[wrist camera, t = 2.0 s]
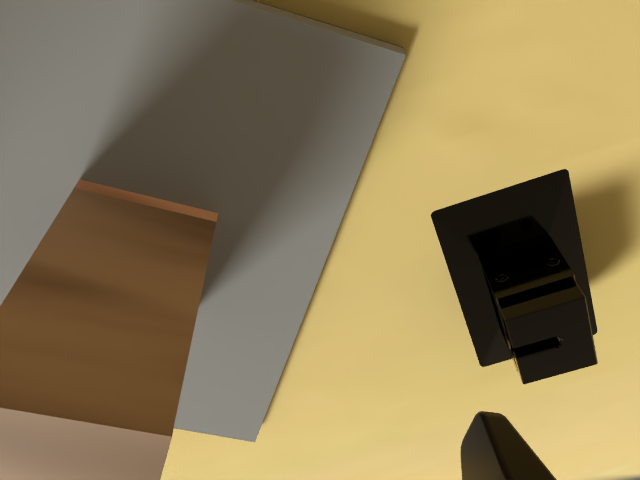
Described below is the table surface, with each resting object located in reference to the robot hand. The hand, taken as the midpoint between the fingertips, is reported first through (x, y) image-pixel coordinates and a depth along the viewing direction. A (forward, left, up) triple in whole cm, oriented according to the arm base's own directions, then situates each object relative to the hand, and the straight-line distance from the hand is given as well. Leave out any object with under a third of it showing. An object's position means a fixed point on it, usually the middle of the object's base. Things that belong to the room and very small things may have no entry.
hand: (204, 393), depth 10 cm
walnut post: (-7, +3, -13) cm, 15 cm away
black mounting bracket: (-5, -13, -14) cm, 20 cm away
